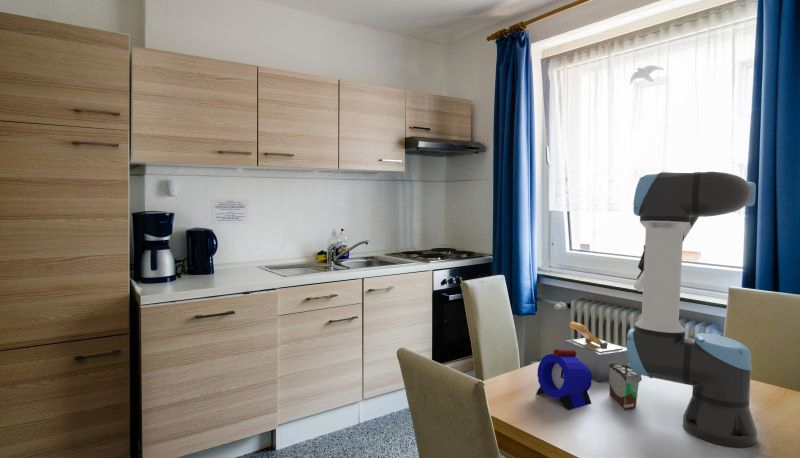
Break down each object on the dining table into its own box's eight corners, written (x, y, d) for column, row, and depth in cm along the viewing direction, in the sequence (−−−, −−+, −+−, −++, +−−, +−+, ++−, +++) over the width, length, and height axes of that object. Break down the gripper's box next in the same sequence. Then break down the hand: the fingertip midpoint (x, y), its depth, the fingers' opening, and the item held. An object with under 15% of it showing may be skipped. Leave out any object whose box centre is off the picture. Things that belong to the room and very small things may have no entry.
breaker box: (592, 361, 167) (593, 331, 166) (628, 377, 152) (629, 344, 151) (564, 365, 163) (565, 335, 162) (598, 382, 148) (599, 348, 147)
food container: (649, 412, 127) (650, 376, 127) (626, 412, 127) (627, 376, 127) (628, 394, 140) (629, 360, 139) (607, 393, 140) (608, 360, 139)
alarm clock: (534, 394, 139) (535, 344, 138) (564, 387, 145) (565, 338, 144) (566, 411, 128) (567, 357, 127) (597, 402, 134) (599, 350, 133)
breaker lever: (591, 336, 160) (571, 320, 156) (603, 341, 154) (583, 324, 151) (587, 342, 159) (568, 325, 156) (600, 346, 154) (580, 330, 151)
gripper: (697, 242, 156) (660, 300, 152) (661, 237, 168) (626, 290, 164) (687, 229, 153) (649, 287, 149) (651, 224, 165) (615, 278, 161)
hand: (637, 289), depth 156 cm, fingers closed
